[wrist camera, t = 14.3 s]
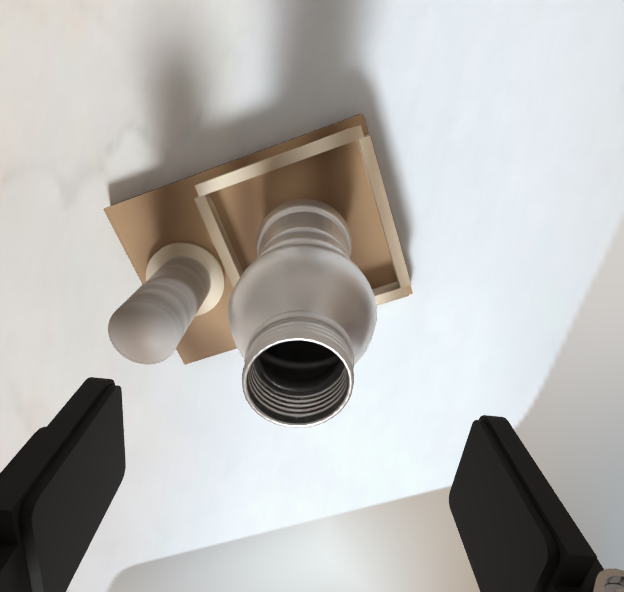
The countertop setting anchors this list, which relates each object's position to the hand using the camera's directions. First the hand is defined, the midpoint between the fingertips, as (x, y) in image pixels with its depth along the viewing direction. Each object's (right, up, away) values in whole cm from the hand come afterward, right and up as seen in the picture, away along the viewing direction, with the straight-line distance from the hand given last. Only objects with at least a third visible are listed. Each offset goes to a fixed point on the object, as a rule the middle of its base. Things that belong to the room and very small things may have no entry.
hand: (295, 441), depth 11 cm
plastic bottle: (0, +8, +22) cm, 23 cm away
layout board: (-3, +8, +23) cm, 24 cm away
